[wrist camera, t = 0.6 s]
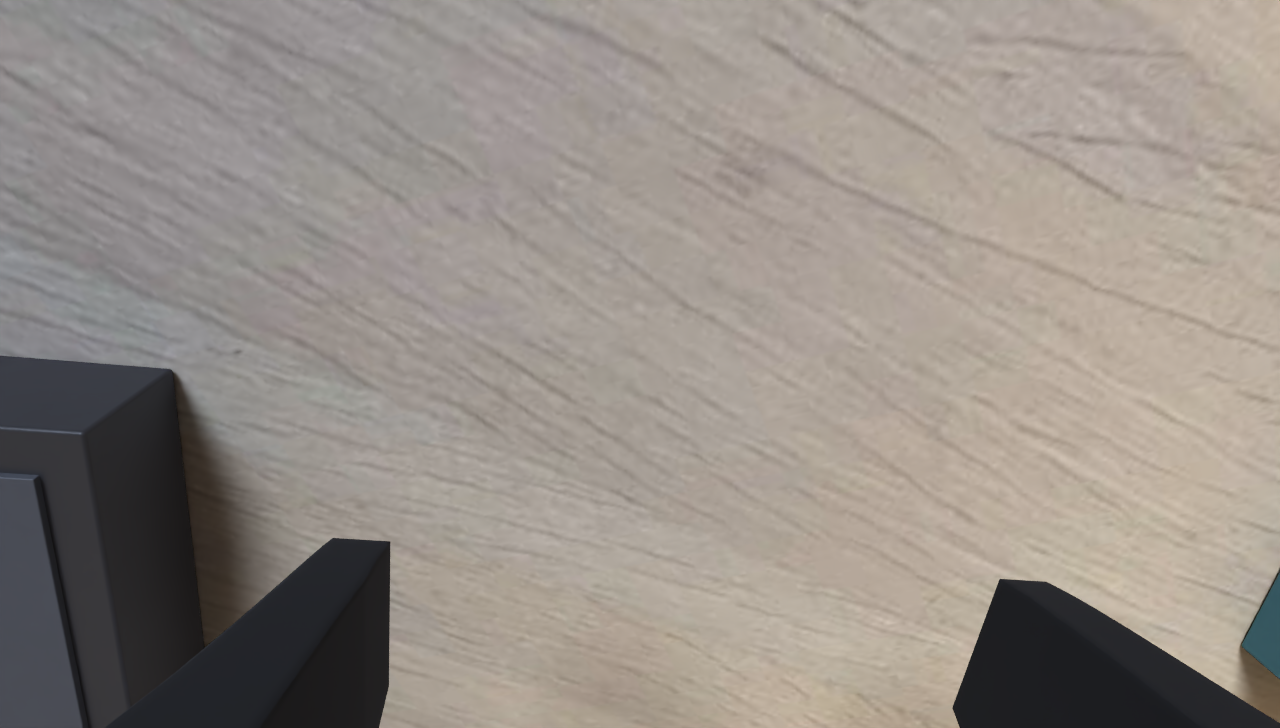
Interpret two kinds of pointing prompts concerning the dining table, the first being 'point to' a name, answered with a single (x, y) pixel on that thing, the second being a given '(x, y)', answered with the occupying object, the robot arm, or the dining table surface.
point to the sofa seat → (1267, 632)
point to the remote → (90, 542)
